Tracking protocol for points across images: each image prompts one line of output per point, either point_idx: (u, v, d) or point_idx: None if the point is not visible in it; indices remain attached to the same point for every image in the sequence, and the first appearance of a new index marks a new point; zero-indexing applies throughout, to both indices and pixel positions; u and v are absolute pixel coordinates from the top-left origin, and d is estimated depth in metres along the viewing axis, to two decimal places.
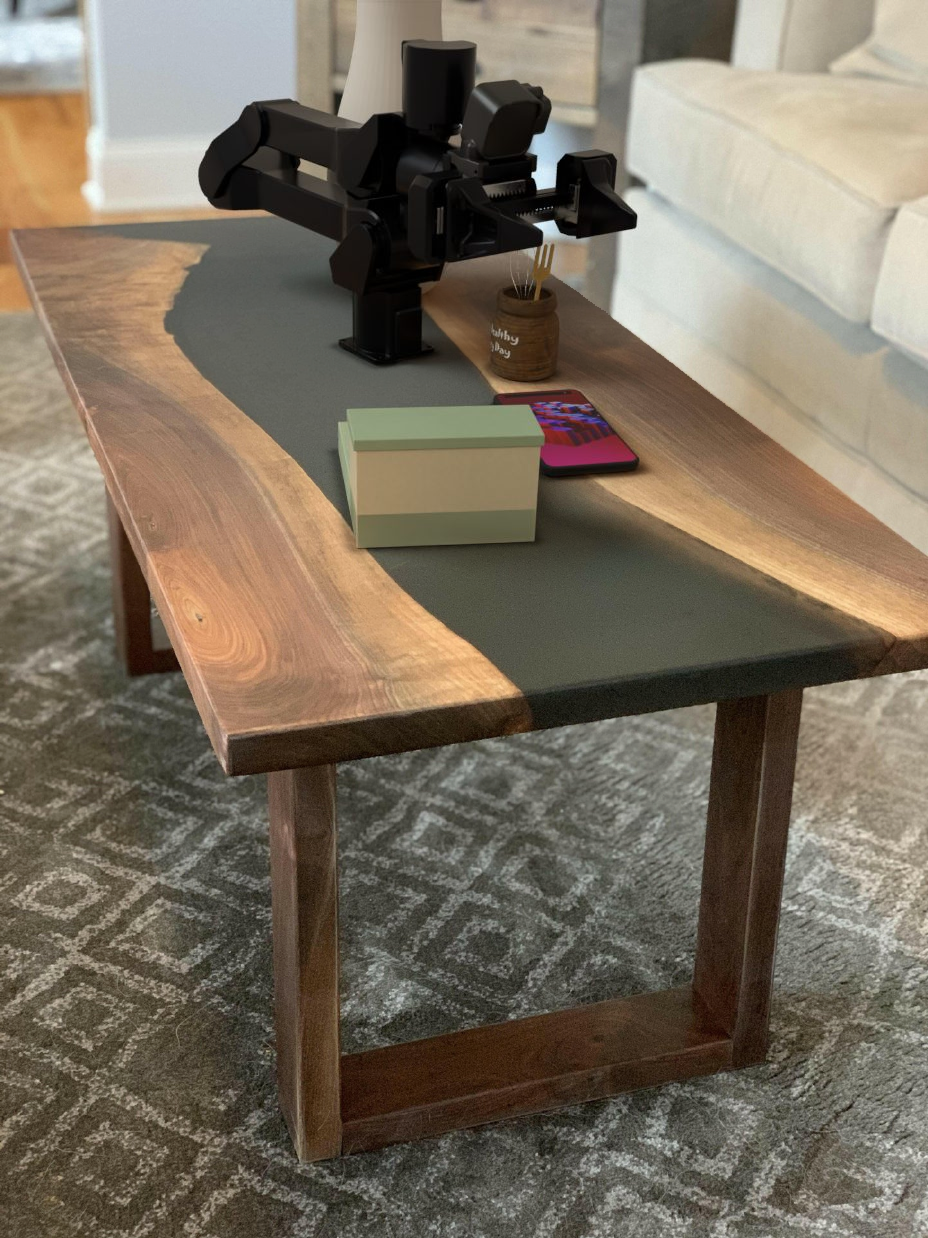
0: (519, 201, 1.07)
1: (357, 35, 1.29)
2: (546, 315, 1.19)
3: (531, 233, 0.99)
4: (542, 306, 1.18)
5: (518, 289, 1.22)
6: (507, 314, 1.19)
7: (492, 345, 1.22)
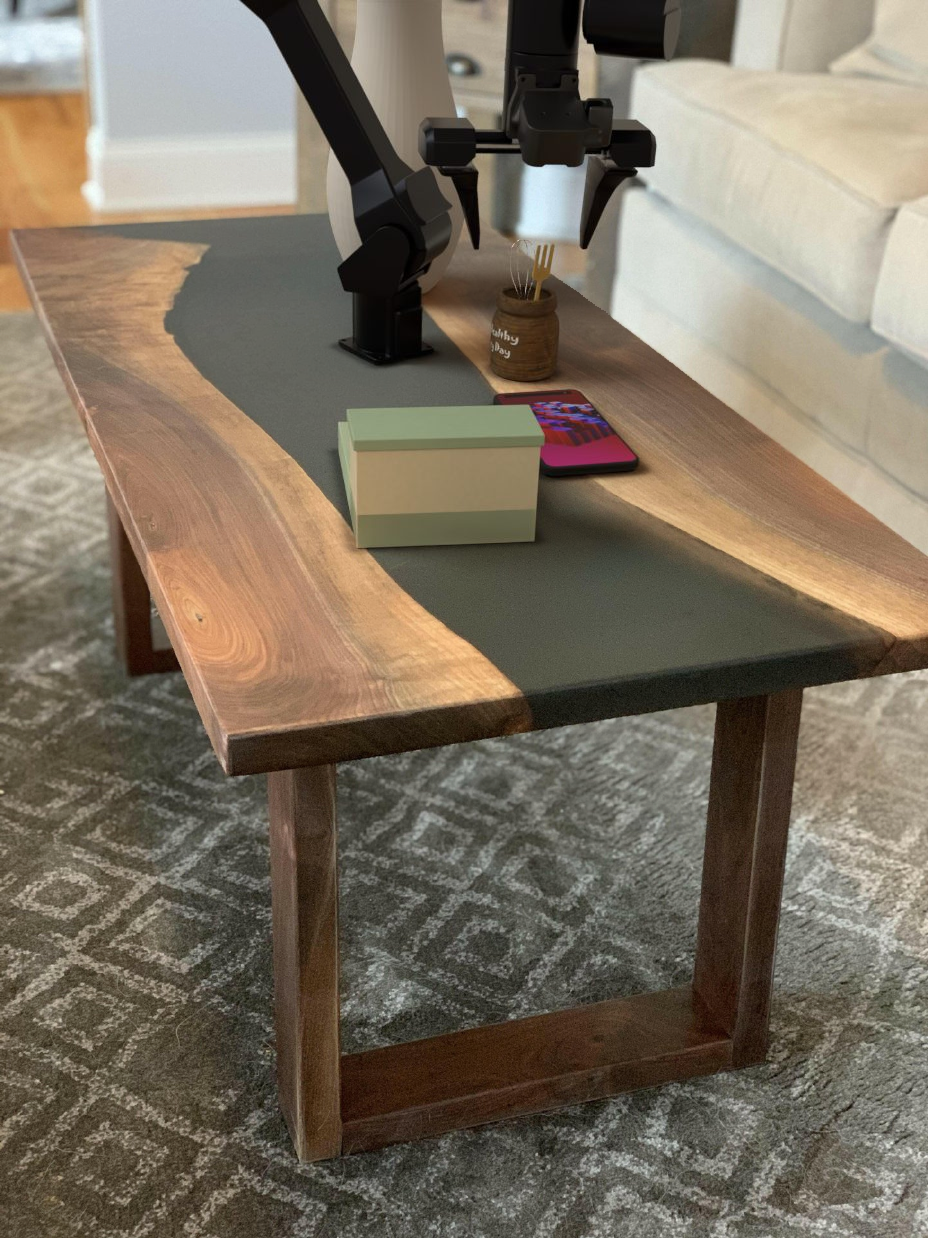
0: None
1: (357, 35, 1.29)
2: (546, 315, 1.19)
3: (471, 241, 1.17)
4: (542, 306, 1.18)
5: (518, 289, 1.22)
6: (507, 314, 1.19)
7: (492, 345, 1.22)
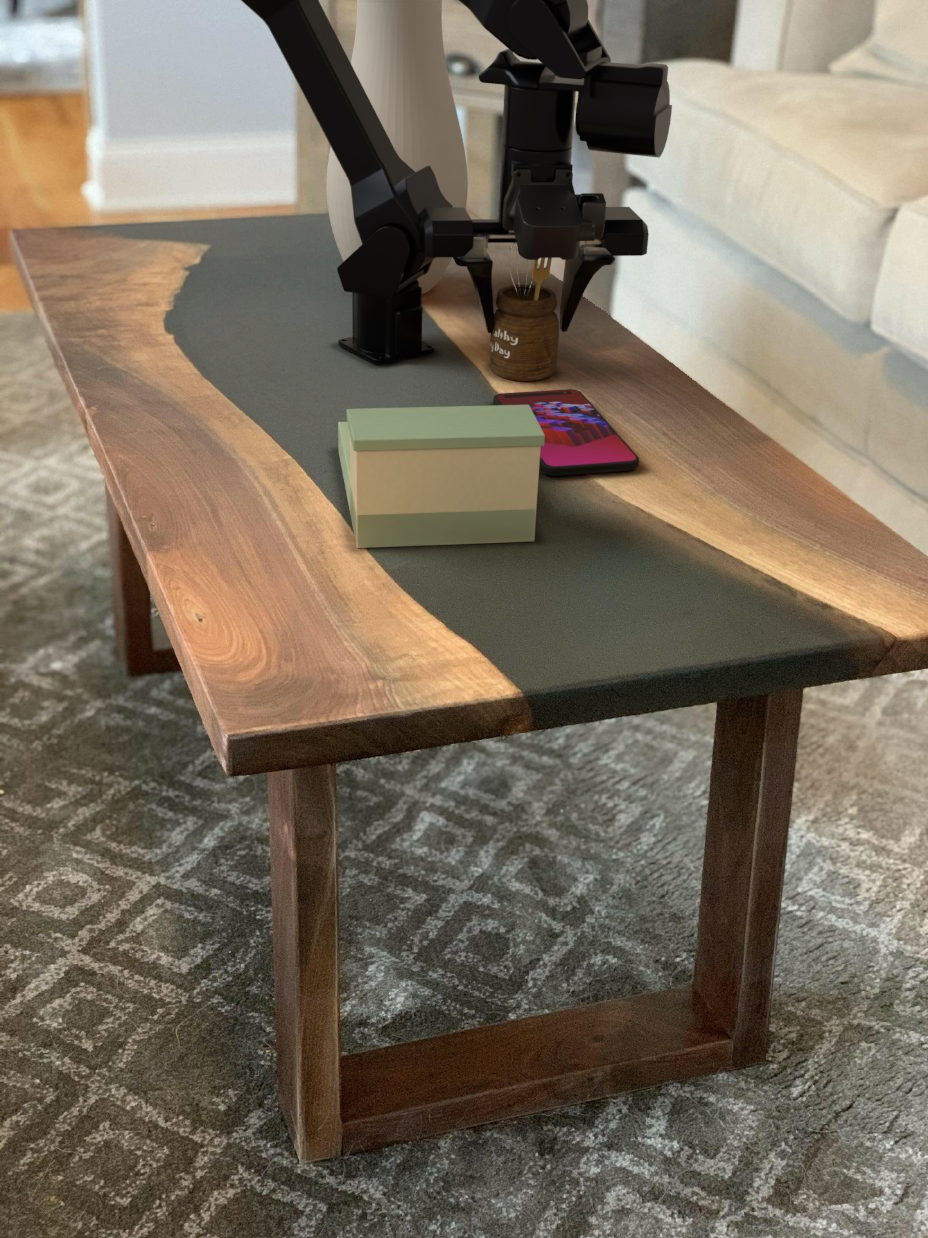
0: None
1: (357, 35, 1.29)
2: (545, 315, 1.19)
3: (486, 325, 1.21)
4: (542, 306, 1.18)
5: (518, 289, 1.22)
6: (506, 314, 1.19)
7: (492, 345, 1.22)
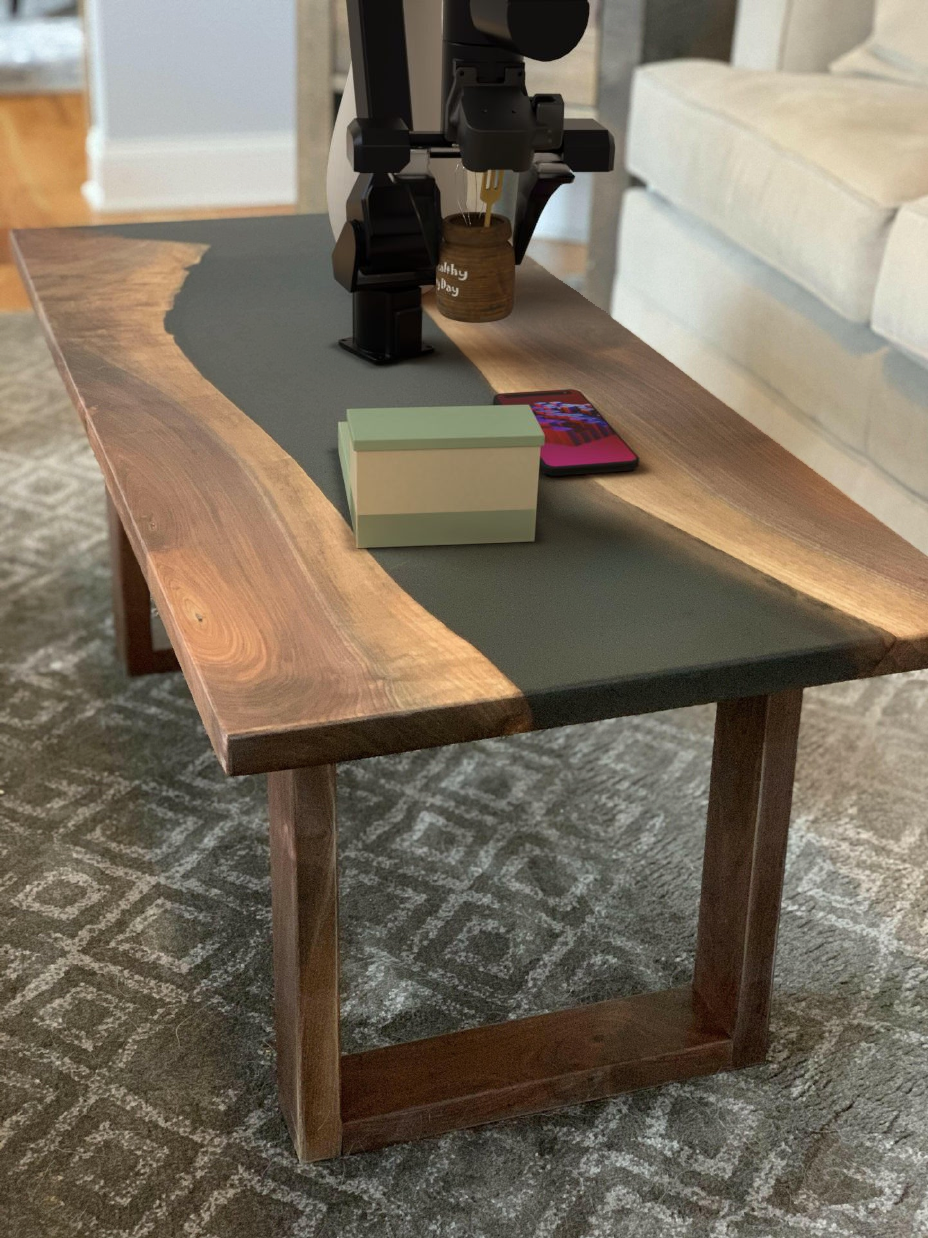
0: None
1: None
2: (498, 245, 1.03)
3: (430, 257, 1.04)
4: (494, 233, 1.02)
5: (466, 217, 1.05)
6: (453, 244, 1.03)
7: (438, 282, 1.05)
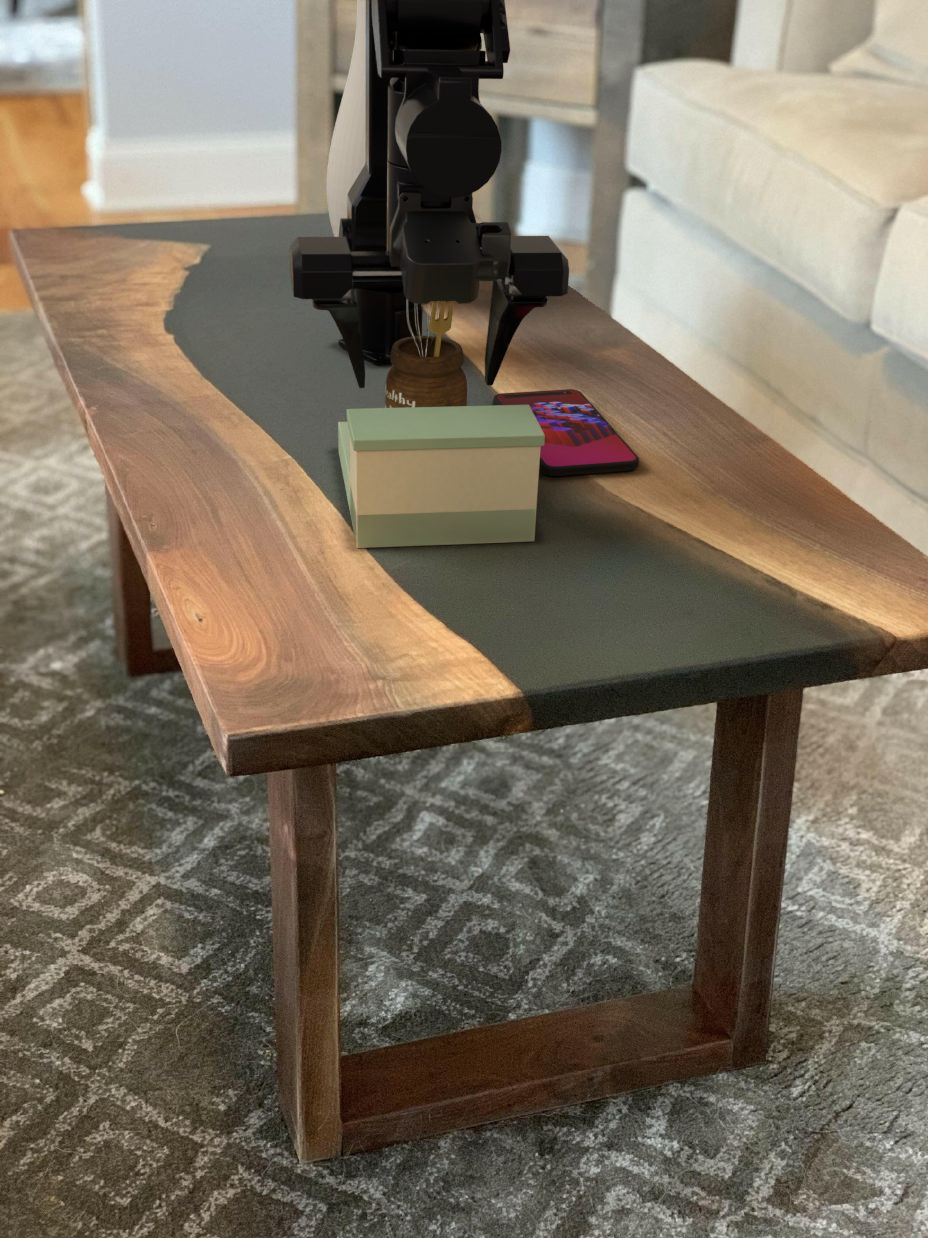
0: None
1: (357, 35, 1.29)
2: (449, 374, 0.99)
3: (356, 379, 0.99)
4: (444, 363, 0.98)
5: (418, 341, 1.02)
6: (402, 372, 0.99)
7: None
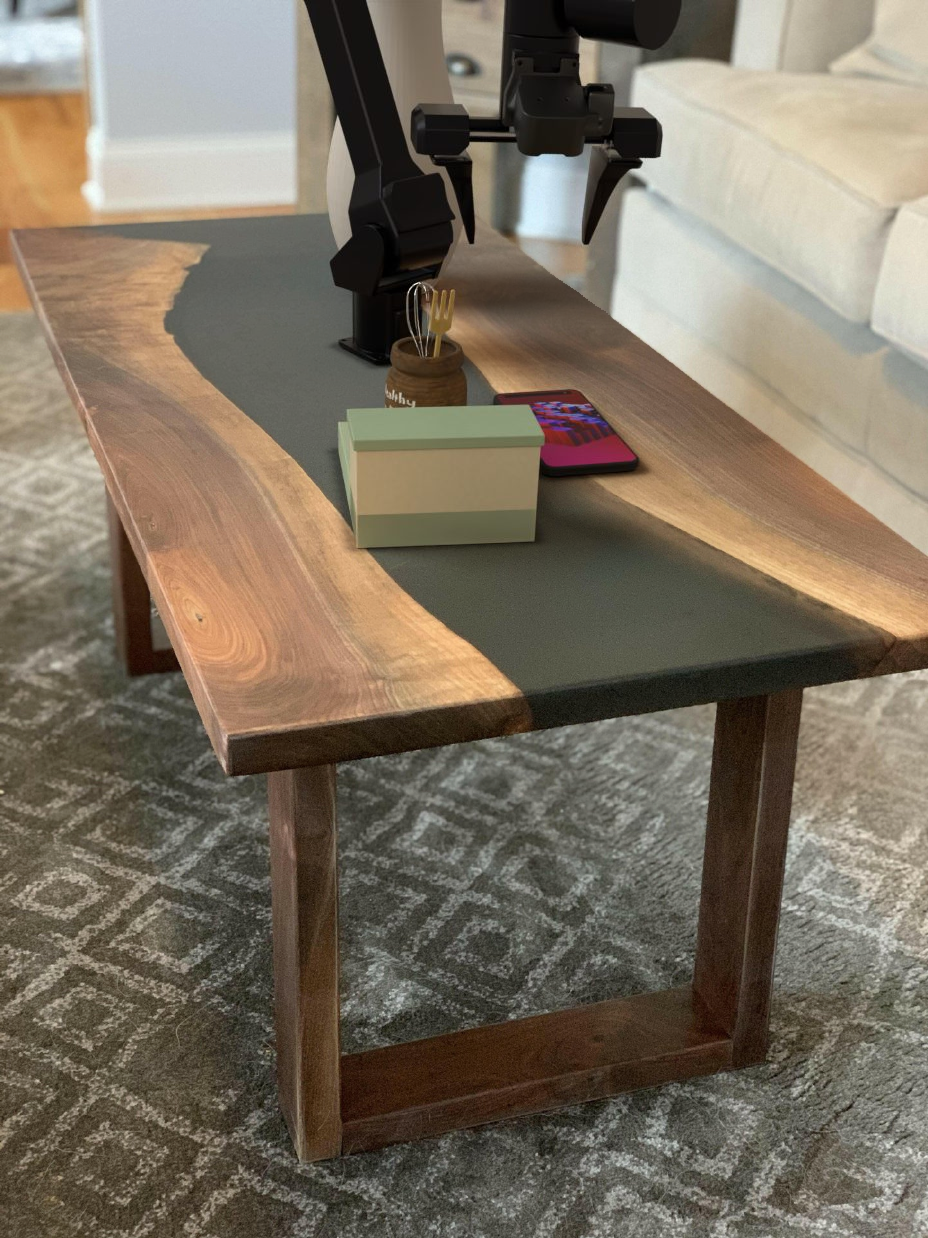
0: None
1: None
2: (449, 374, 0.99)
3: (466, 235, 1.10)
4: (444, 363, 0.98)
5: (418, 341, 1.02)
6: (402, 372, 0.99)
7: None
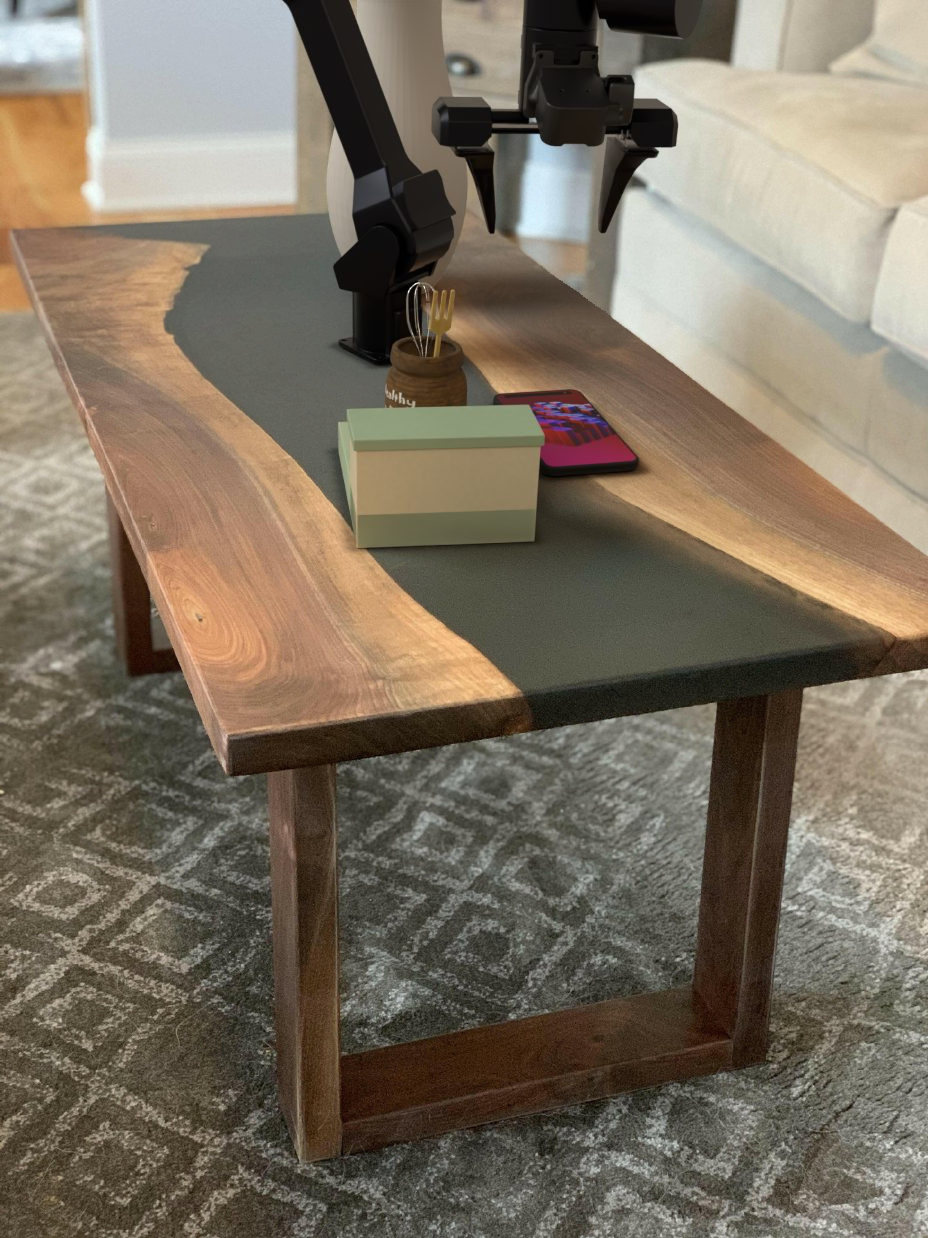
0: None
1: None
2: (449, 374, 0.99)
3: (487, 225, 1.13)
4: (444, 363, 0.98)
5: (418, 341, 1.02)
6: (402, 372, 0.99)
7: None
